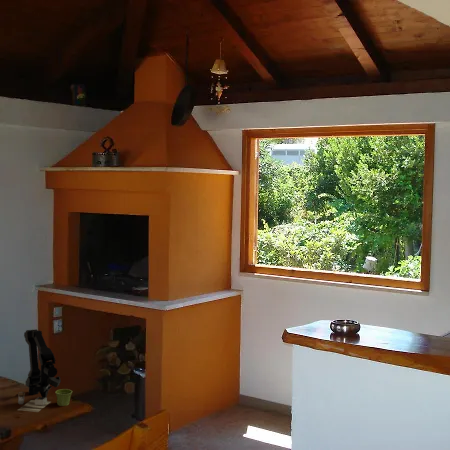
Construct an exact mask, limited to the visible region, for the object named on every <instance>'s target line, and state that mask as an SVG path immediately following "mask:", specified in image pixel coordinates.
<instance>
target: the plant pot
mask: <svg viewBox="0 0 450 450" xmlns="http://www.w3.org/2000/svg"><path fill="white" fill-rule="evenodd" d="M72 394H73V390H71V389H68V388H62V389H57V390H56V391H55V395H56V403H57V406H60V407H66V406H69V404H70V400H71V396H72Z"/></svg>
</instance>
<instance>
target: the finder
mask: <svg viewBox="0 0 450 450" xmlns="http://www.w3.org/2000/svg"><path fill="white" fill-rule="evenodd" d="M34 400H35V405H44V404H46V403H47V401H48V397H46V398H44V397H42V396H38V397H37V398H35V399H34Z"/></svg>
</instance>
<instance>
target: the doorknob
mask: <svg viewBox="0 0 450 450" xmlns="http://www.w3.org/2000/svg"><path fill="white" fill-rule="evenodd" d="M25 395H26V393H25V391H18V393H17V397H18V401H17V403H18V404H19V405H25Z"/></svg>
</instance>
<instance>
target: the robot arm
mask: <svg viewBox="0 0 450 450" xmlns="http://www.w3.org/2000/svg"><path fill="white" fill-rule="evenodd" d="M23 337H24V339H25V342H26V343H27V346H28V354H29V366H30V370H29V372H28V374H27V378H26V380H25V386H26V387H27V388H28V396H35V395H38V394H40V397H44V398H48V397H47V396H48V394H49V391H50V389H52V387H53V388H58V387H59V386H60V383H62V382H61V380H62V379H61V377H60V376H58V375H57V374H58V369H57V367H55V365H56V361H57V360H56V357H55V355H54V353H53V351H52V348H49V347H48V345H47V343H46V341H45V339H44V336H43V332H42V330H38V329H35V328H34V329H26V330H25V332H24V334H23ZM38 351H39V352H38ZM39 364H40V367H39Z"/></svg>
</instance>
